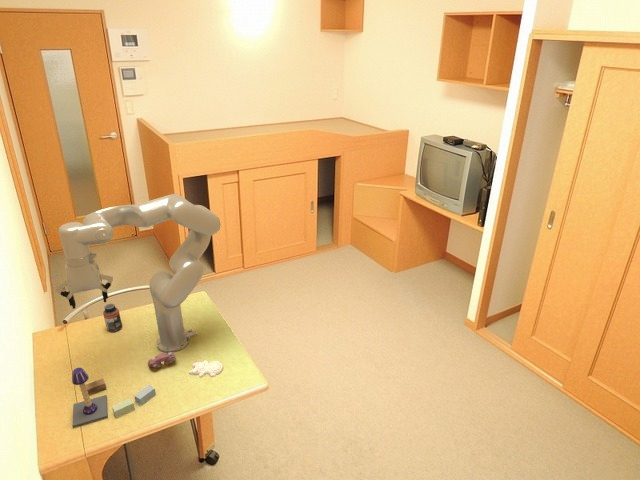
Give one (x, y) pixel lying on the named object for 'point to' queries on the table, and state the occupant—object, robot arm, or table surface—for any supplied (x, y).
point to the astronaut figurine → (206, 368)
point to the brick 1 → (96, 387)
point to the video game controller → (161, 359)
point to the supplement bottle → (112, 318)
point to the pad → (83, 419)
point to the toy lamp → (83, 389)
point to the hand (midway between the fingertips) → (90, 303)
